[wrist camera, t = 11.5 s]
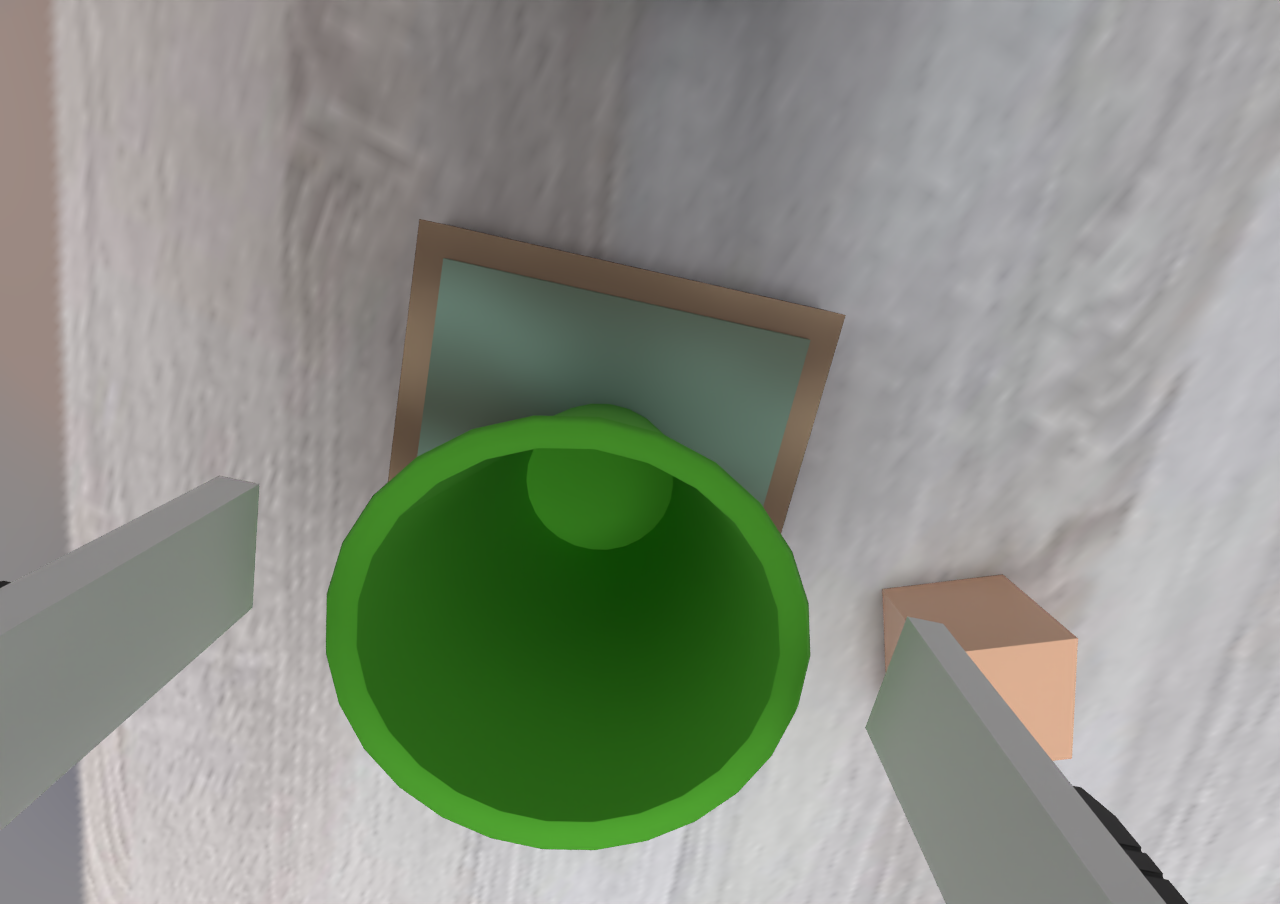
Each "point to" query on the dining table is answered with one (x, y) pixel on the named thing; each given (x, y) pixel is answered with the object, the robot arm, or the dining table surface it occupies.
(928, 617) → the terracotta block
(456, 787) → the cup
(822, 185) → the dining table surface
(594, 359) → the tray
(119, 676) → the robot arm
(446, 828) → the dining table surface
